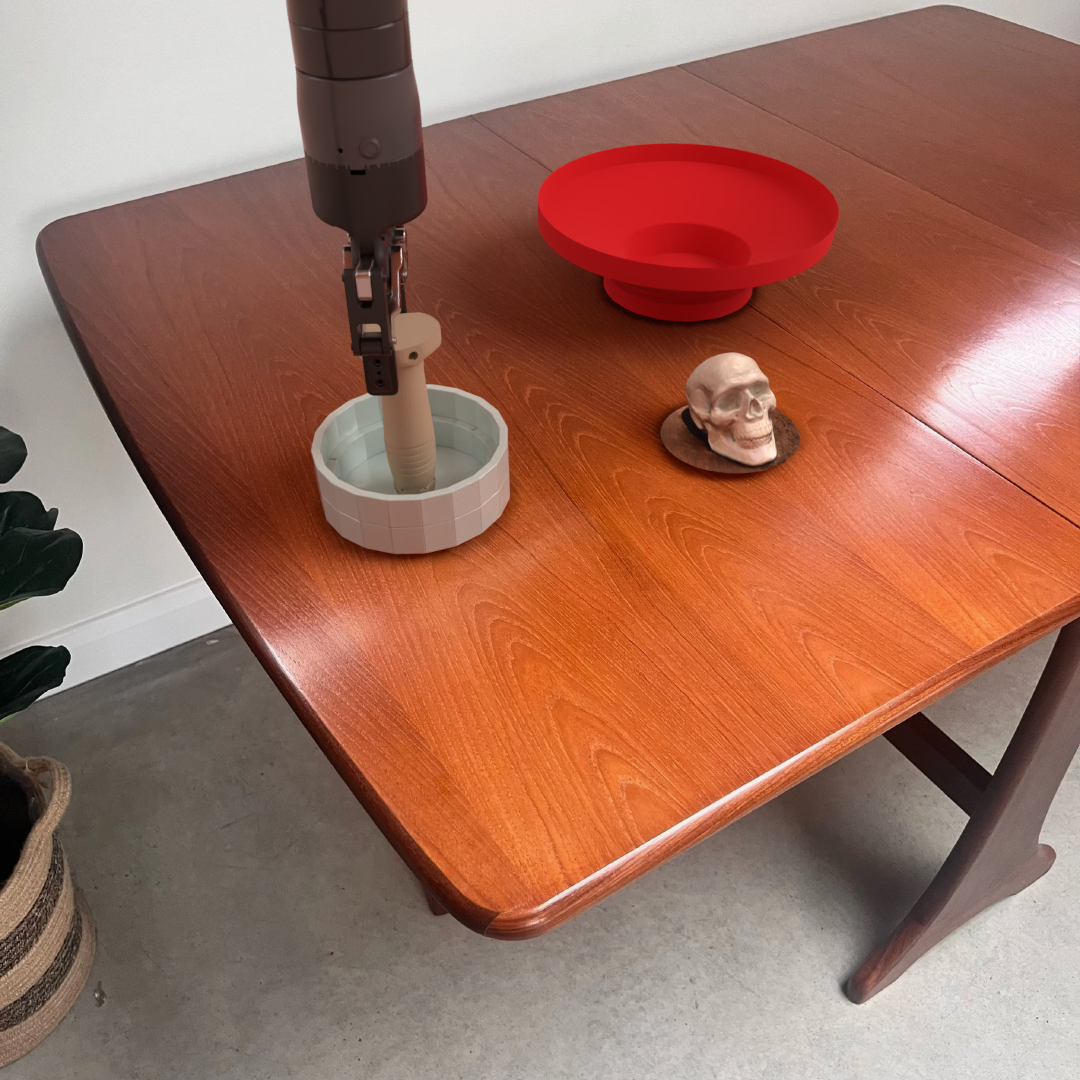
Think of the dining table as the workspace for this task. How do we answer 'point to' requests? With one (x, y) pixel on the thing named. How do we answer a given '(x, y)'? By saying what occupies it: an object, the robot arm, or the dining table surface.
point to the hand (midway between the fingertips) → (388, 360)
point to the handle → (411, 406)
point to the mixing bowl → (413, 519)
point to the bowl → (686, 225)
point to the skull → (730, 419)
